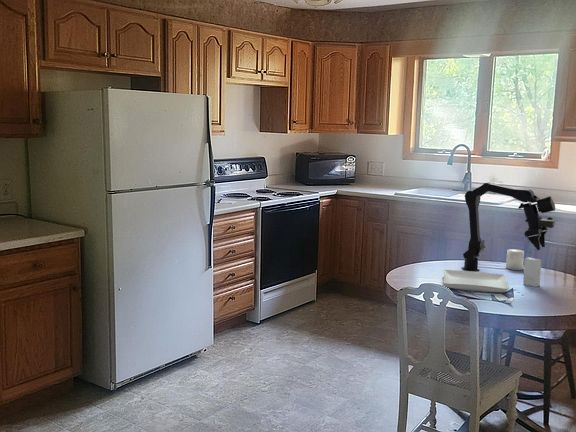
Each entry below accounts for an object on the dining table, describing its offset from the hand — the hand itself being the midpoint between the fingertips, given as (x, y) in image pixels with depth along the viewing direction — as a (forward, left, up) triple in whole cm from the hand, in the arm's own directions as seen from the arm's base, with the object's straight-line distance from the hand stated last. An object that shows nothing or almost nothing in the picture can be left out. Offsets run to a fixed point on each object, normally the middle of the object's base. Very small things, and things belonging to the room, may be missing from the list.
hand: (541, 248), depth 274 cm
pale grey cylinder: (-24, +7, -15) cm, 29 cm away
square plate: (0, -35, -16) cm, 39 cm away
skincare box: (+6, -9, -16) cm, 19 cm away
